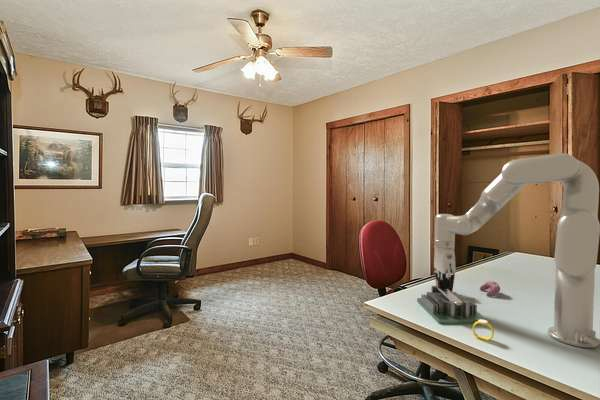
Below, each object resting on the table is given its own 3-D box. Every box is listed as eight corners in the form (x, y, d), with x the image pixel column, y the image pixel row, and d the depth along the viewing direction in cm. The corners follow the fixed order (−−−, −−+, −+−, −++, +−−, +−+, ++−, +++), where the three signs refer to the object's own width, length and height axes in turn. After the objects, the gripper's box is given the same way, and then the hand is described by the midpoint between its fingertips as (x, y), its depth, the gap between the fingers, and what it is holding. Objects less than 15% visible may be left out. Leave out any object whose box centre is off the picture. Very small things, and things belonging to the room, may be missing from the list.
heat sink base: (486, 323, 113) (486, 304, 113) (439, 323, 113) (439, 304, 113) (456, 301, 135) (456, 285, 135) (417, 301, 135) (417, 285, 135)
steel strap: (463, 306, 115) (463, 303, 115) (455, 306, 115) (455, 303, 115) (442, 286, 133) (442, 284, 133) (435, 286, 133) (435, 284, 133)
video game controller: (496, 301, 140) (504, 287, 139) (486, 295, 141) (494, 282, 140) (487, 293, 150) (494, 281, 149) (478, 288, 150) (485, 276, 150)
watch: (472, 338, 103) (471, 320, 103) (473, 335, 105) (472, 317, 105) (493, 342, 99) (492, 323, 99) (494, 339, 102) (493, 320, 102)
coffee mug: (435, 289, 151) (435, 269, 151) (455, 292, 147) (455, 271, 146) (432, 296, 141) (432, 274, 141) (453, 300, 137) (453, 277, 137)
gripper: (462, 248, 120) (460, 295, 121) (445, 241, 135) (443, 282, 136) (443, 248, 120) (441, 295, 121) (427, 240, 135) (426, 282, 136)
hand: (442, 288), depth 128 cm, fingers closed
